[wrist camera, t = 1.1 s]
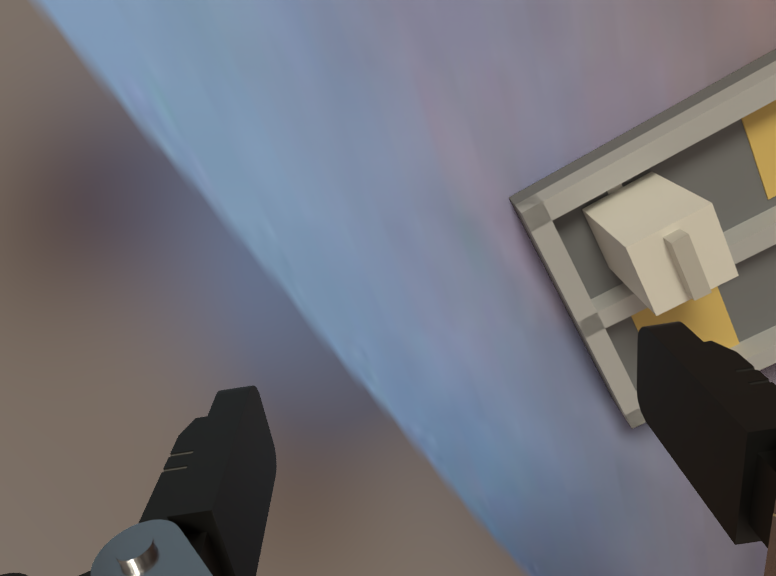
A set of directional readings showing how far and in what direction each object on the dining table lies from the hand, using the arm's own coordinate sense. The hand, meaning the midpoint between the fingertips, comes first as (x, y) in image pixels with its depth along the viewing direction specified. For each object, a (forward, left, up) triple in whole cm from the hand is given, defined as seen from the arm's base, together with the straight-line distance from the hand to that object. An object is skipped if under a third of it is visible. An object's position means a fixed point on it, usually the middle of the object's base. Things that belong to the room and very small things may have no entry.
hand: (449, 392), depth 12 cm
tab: (-9, +9, -20) cm, 24 cm away
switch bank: (-14, +13, -22) cm, 29 cm away
